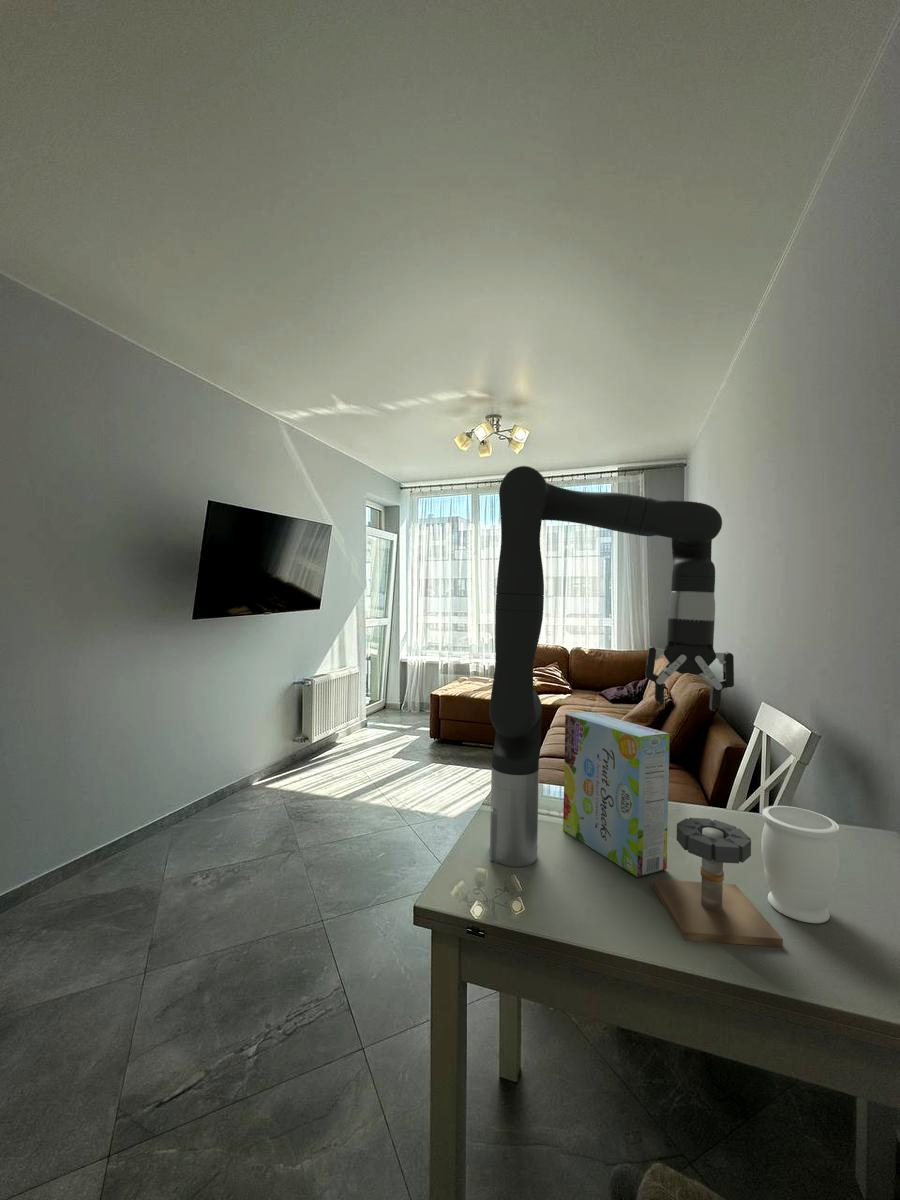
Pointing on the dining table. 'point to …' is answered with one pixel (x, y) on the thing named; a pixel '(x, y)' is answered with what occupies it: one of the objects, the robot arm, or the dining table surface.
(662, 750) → the snack box
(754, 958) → the dining table surface
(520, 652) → the robot arm
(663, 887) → the post base
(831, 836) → the jar
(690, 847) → the ring
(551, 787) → the dining table surface
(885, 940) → the dining table surface
